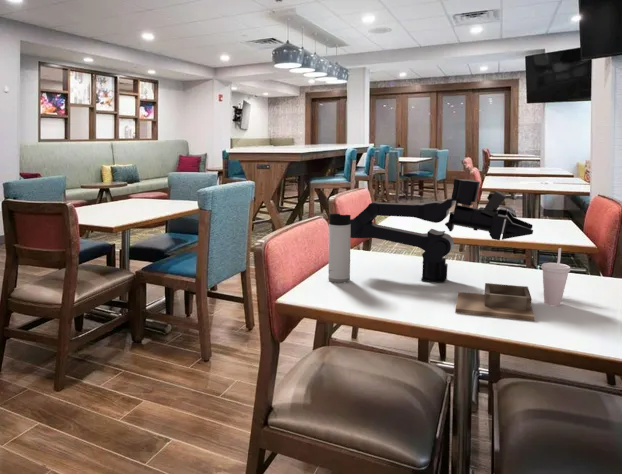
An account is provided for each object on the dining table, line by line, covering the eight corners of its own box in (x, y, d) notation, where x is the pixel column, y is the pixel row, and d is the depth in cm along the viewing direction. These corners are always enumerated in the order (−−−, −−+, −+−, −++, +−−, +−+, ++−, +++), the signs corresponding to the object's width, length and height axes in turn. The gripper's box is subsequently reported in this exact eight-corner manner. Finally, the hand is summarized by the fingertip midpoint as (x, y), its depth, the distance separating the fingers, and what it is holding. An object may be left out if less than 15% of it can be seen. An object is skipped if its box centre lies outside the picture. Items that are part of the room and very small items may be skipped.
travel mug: (324, 282, 140) (325, 213, 136) (332, 276, 146) (333, 210, 142) (345, 284, 137) (346, 214, 134) (352, 278, 143) (353, 211, 140)
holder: (455, 312, 114) (456, 296, 113) (457, 295, 127) (458, 280, 126) (534, 320, 108) (535, 303, 108) (528, 302, 122) (529, 286, 121)
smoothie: (570, 308, 117) (576, 251, 114) (541, 306, 118) (546, 250, 116) (562, 300, 123) (567, 246, 121) (535, 298, 124) (540, 245, 122)
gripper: (475, 192, 125) (540, 203, 119) (481, 187, 142) (538, 196, 136) (466, 234, 127) (530, 247, 122) (473, 223, 144) (529, 234, 139)
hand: (532, 229), depth 129 cm, fingers open, 9 cm apart
